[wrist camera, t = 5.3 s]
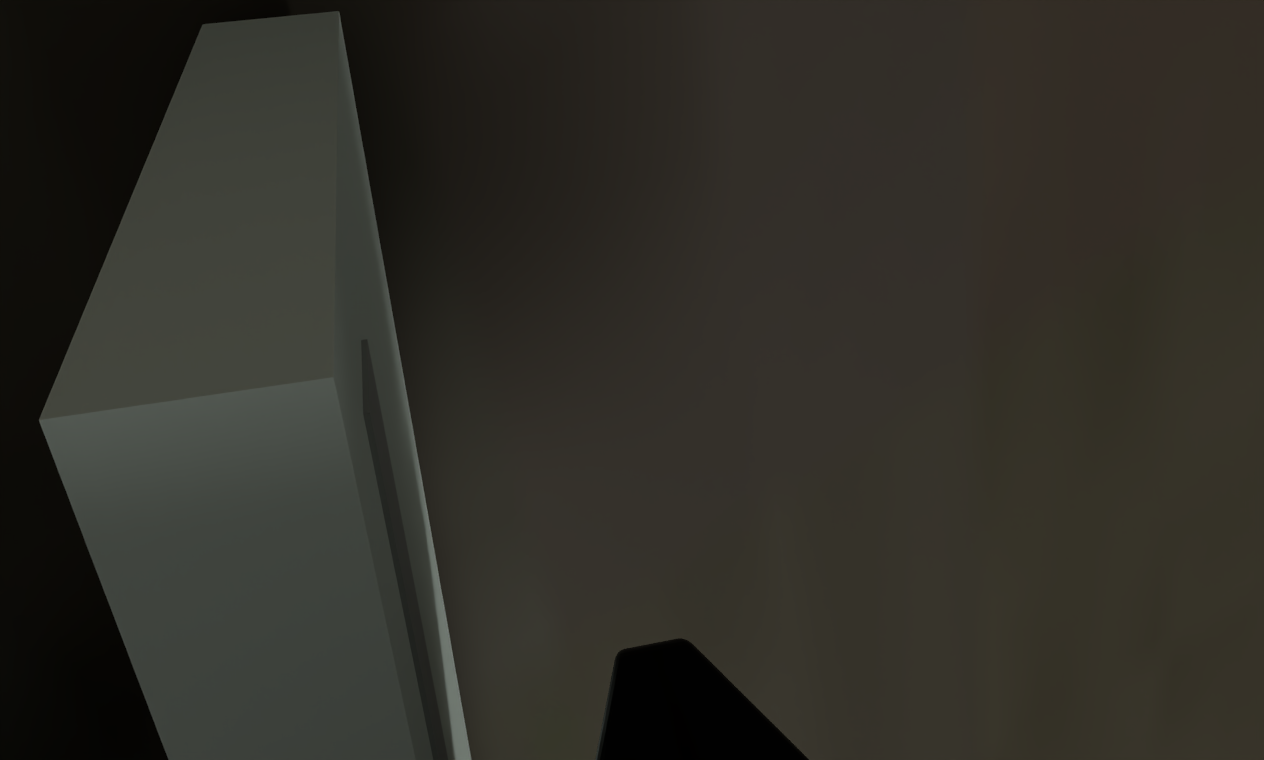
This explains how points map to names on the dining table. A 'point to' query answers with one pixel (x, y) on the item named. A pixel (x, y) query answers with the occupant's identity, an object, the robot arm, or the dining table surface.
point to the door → (258, 426)
